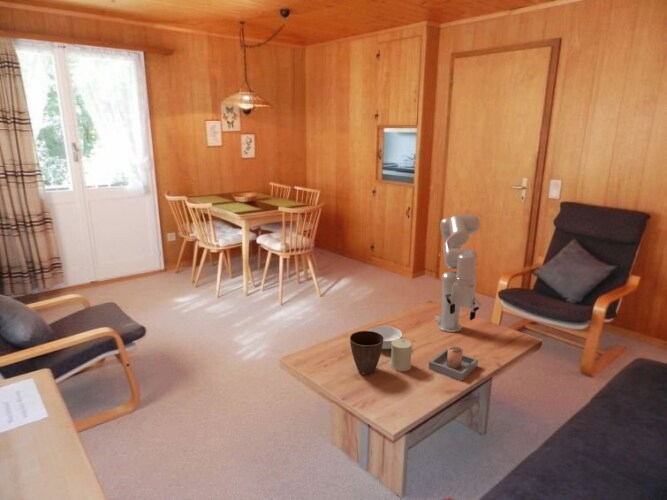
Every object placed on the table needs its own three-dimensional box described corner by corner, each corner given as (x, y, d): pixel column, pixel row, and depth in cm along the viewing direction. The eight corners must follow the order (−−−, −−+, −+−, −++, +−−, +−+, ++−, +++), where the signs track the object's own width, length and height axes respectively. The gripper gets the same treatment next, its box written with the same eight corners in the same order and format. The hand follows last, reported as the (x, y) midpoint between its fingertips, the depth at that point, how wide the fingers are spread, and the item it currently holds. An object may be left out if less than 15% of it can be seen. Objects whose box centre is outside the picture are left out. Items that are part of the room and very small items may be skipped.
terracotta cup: (444, 365, 204) (445, 349, 202) (450, 360, 209) (452, 344, 207) (457, 371, 200) (458, 354, 198) (463, 365, 205) (465, 349, 203)
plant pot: (344, 365, 208) (344, 333, 203) (373, 359, 213) (374, 328, 209) (358, 382, 194) (358, 348, 190) (388, 375, 199) (389, 342, 195)
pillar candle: (412, 363, 209) (413, 339, 206) (409, 372, 201) (410, 348, 198) (392, 359, 212) (393, 336, 209) (388, 369, 204) (389, 345, 201)
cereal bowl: (363, 350, 222) (363, 337, 220) (373, 336, 237) (373, 323, 235) (397, 356, 216) (397, 342, 214) (405, 341, 231) (405, 328, 229)
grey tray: (428, 368, 204) (429, 361, 203) (445, 355, 216) (445, 348, 215) (461, 381, 194) (462, 373, 193) (477, 366, 206) (478, 359, 205)
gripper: (443, 279, 204) (441, 313, 209) (479, 288, 193) (476, 324, 198) (451, 274, 209) (448, 308, 214) (487, 283, 198) (483, 318, 203)
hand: (462, 316), depth 206 cm, fingers open, 9 cm apart
